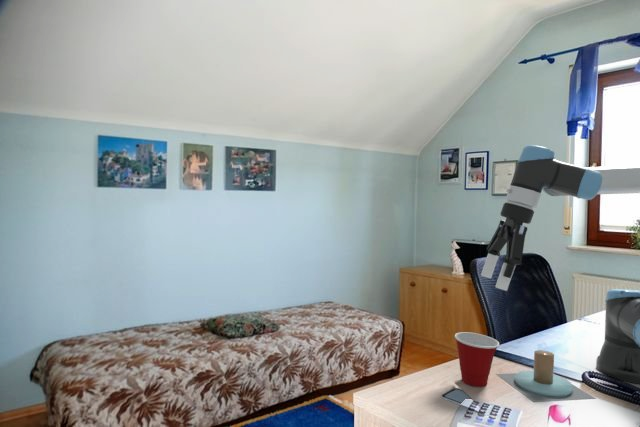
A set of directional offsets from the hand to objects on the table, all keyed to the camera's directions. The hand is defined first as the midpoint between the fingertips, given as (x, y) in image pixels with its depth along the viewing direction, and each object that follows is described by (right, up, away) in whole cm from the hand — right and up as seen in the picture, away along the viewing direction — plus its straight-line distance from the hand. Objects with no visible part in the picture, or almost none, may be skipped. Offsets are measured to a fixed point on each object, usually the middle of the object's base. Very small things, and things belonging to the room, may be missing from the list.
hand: (492, 282), depth 116 cm
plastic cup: (-6, -25, -4) cm, 26 cm away
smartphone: (-9, -26, -14) cm, 31 cm away
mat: (+11, -26, -5) cm, 28 cm away
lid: (+11, -25, -5) cm, 28 cm away
